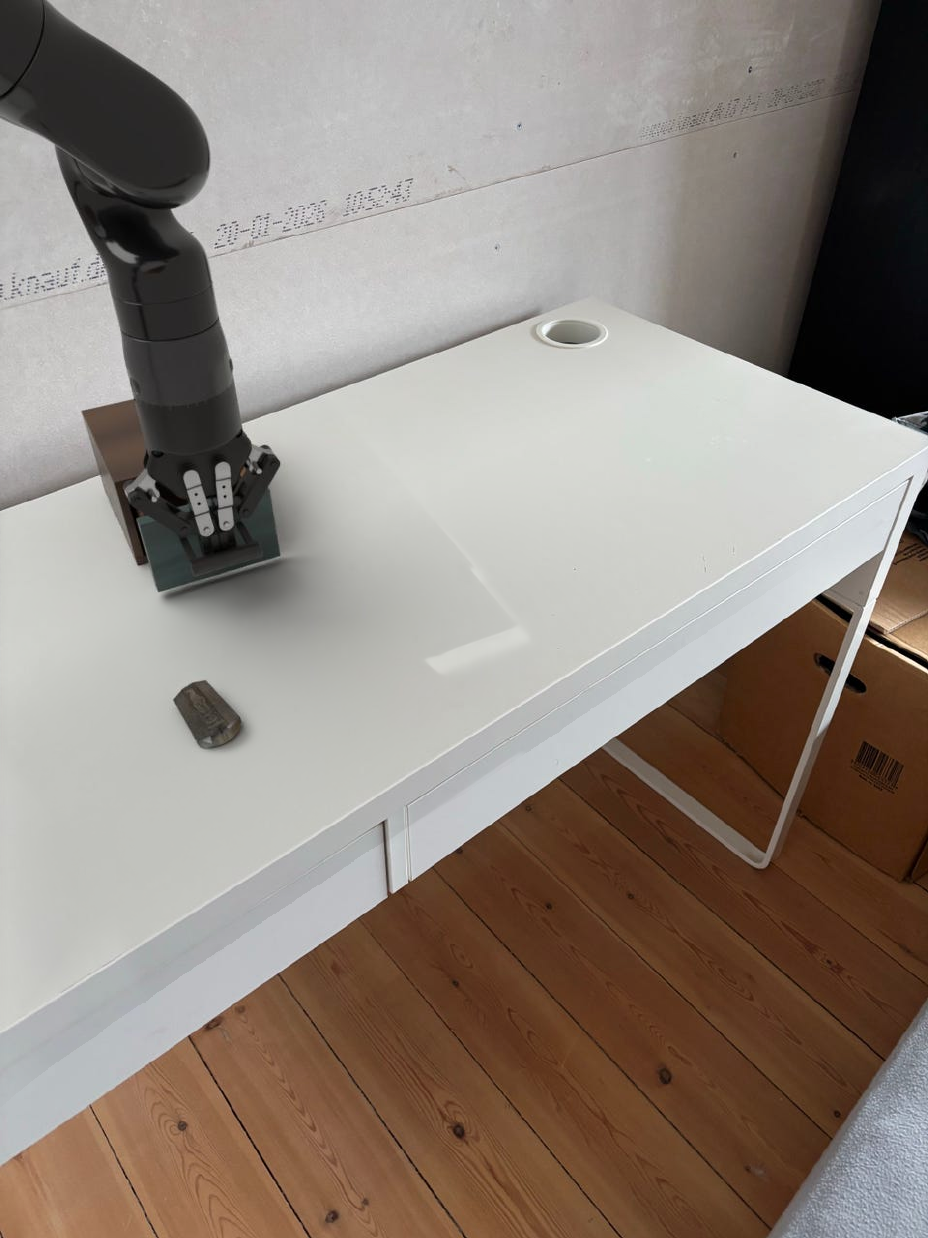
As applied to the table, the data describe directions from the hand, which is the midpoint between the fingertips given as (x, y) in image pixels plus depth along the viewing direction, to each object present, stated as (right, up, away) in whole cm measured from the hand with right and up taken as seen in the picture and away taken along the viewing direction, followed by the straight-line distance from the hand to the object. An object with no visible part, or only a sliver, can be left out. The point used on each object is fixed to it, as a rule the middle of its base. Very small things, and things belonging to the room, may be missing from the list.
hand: (221, 561), depth 85 cm
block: (+1, -13, -9) cm, 16 cm away
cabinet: (-7, +6, +13) cm, 16 cm away
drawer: (-3, +2, +7) cm, 7 cm away
